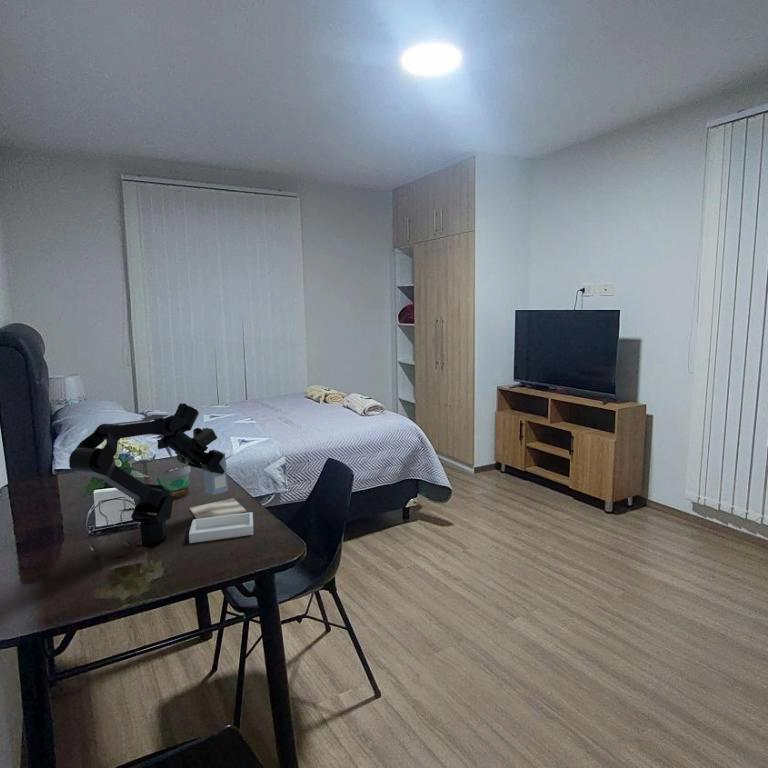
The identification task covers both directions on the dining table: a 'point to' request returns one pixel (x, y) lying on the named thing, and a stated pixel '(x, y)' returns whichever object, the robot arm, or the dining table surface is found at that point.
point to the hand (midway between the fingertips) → (218, 471)
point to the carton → (216, 480)
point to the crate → (221, 527)
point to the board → (218, 509)
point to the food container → (175, 481)
